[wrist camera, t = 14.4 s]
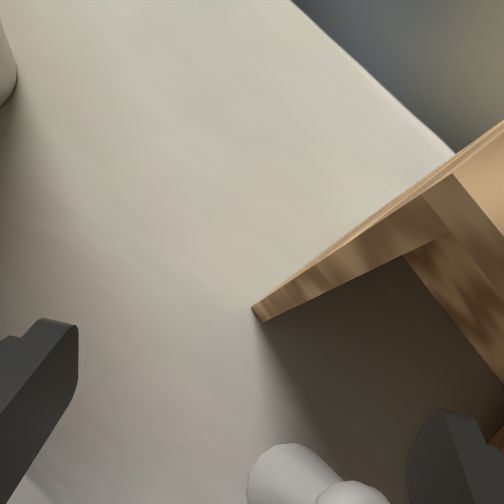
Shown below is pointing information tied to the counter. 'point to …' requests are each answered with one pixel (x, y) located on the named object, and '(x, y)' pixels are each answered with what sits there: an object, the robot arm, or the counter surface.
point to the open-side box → (430, 249)
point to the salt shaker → (303, 480)
